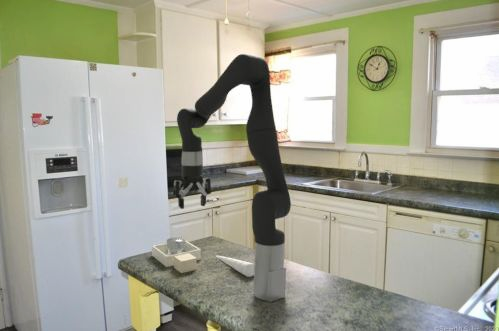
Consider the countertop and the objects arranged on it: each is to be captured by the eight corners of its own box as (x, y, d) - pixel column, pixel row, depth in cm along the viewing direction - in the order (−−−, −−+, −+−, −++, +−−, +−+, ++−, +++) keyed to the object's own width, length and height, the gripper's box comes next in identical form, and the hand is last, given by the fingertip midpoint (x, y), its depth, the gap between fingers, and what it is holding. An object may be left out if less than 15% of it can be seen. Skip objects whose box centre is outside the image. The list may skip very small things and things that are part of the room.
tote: (200, 260, 149) (200, 249, 149) (166, 268, 141) (166, 256, 141) (184, 250, 161) (184, 239, 160) (152, 257, 153) (151, 245, 152)
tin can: (188, 258, 150) (188, 240, 149) (171, 262, 146) (171, 244, 145) (180, 253, 156) (180, 236, 155) (164, 256, 152) (163, 239, 151)
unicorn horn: (223, 255, 156) (223, 243, 156) (256, 276, 136) (257, 263, 136) (212, 257, 154) (213, 245, 153) (245, 279, 134) (245, 265, 133)
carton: (196, 271, 139) (196, 258, 139) (181, 275, 136) (181, 261, 135) (188, 266, 144) (188, 253, 144) (174, 269, 141) (173, 256, 140)
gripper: (178, 165, 135) (178, 211, 137) (214, 163, 143) (214, 206, 145) (169, 163, 141) (170, 207, 143) (204, 161, 149) (205, 203, 151)
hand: (192, 207), depth 144 cm, fingers open, 8 cm apart
